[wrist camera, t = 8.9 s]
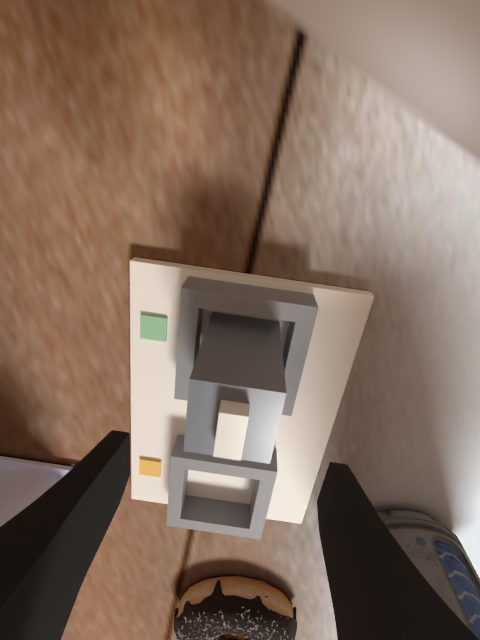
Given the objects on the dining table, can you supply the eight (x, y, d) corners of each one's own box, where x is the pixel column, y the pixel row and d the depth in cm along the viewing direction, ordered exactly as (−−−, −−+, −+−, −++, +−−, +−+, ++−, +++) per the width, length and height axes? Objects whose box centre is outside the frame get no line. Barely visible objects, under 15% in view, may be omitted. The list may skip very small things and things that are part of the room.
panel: (135, 490, 28) (122, 522, 26) (134, 257, 20) (115, 270, 17) (300, 514, 28) (303, 549, 26) (370, 291, 20) (386, 310, 17)
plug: (206, 367, 22) (179, 465, 15) (212, 311, 20) (185, 390, 13) (268, 376, 22) (270, 478, 15) (279, 321, 20) (287, 405, 13)
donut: (281, 636, 37) (283, 687, 33) (175, 620, 37) (165, 669, 33) (304, 579, 32) (309, 631, 29) (182, 560, 32) (172, 610, 29)
